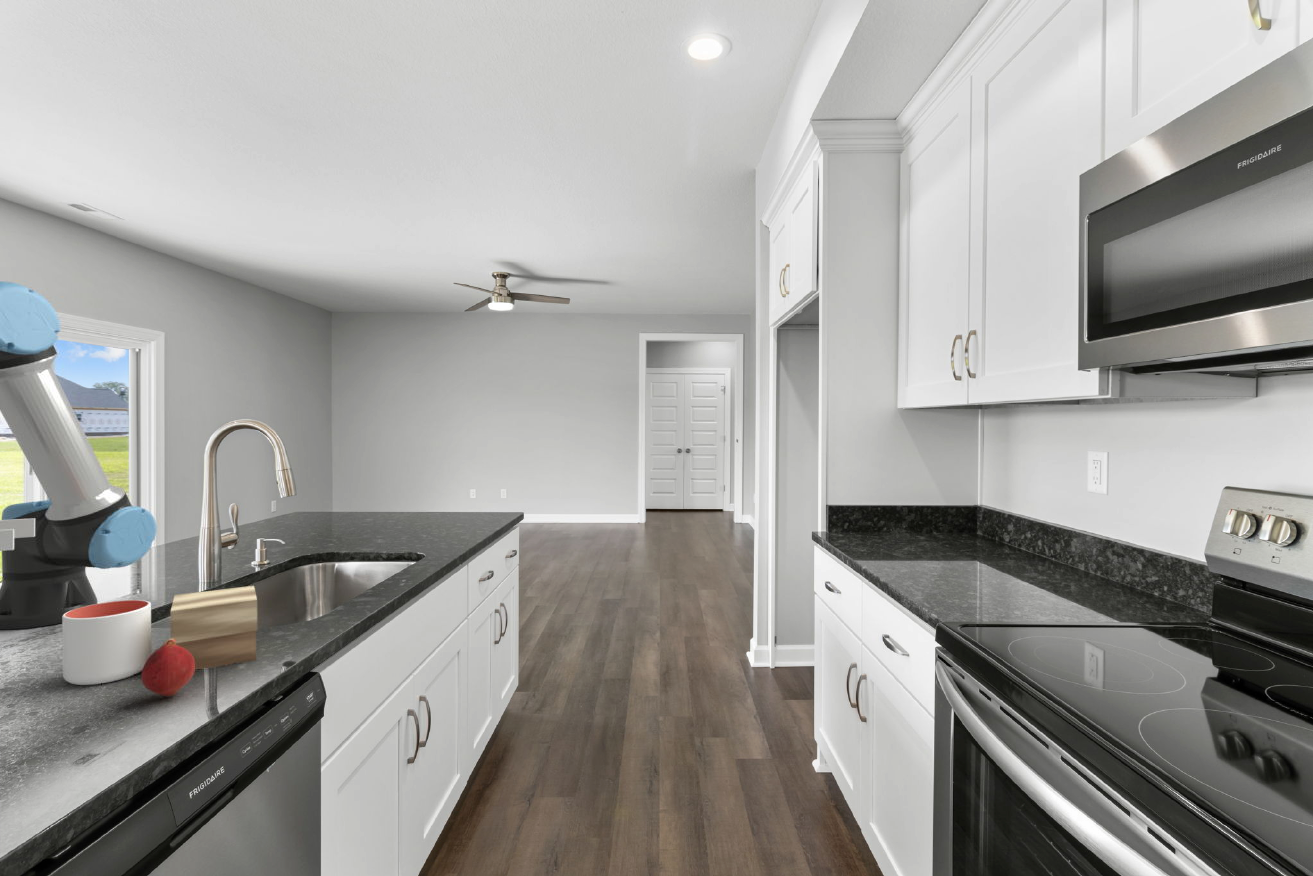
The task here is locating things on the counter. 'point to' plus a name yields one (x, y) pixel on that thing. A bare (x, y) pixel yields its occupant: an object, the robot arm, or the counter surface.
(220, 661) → the block bottom
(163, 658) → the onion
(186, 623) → the block top
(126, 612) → the cup
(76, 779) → the counter surface
